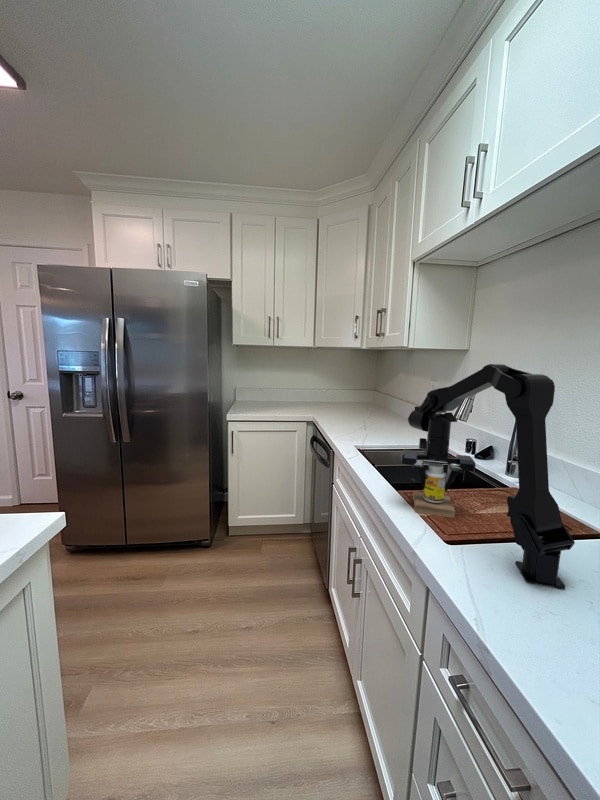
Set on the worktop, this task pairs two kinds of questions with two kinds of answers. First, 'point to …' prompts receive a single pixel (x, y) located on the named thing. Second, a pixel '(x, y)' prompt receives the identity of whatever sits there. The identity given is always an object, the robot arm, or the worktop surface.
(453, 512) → the beige square slab
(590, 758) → the worktop surface
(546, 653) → the worktop surface
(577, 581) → the worktop surface
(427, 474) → the supplement bottle
